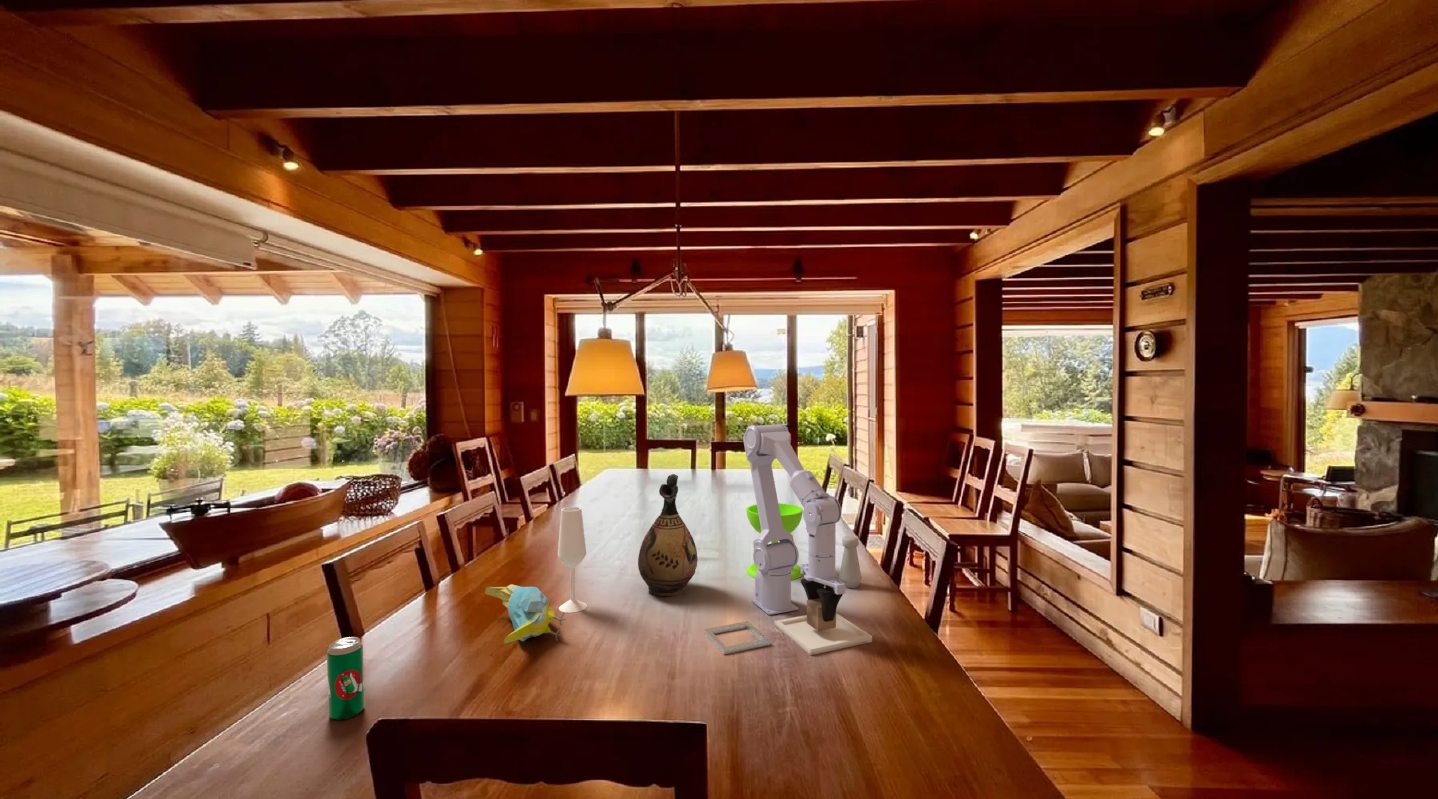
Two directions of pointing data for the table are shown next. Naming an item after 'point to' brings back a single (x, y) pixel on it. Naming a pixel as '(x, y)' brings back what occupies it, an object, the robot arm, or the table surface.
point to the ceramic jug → (668, 548)
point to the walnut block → (818, 616)
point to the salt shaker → (850, 563)
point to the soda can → (345, 678)
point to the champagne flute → (571, 551)
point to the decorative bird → (525, 611)
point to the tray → (822, 634)
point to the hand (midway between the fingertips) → (821, 616)
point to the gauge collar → (740, 647)
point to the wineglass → (789, 522)
